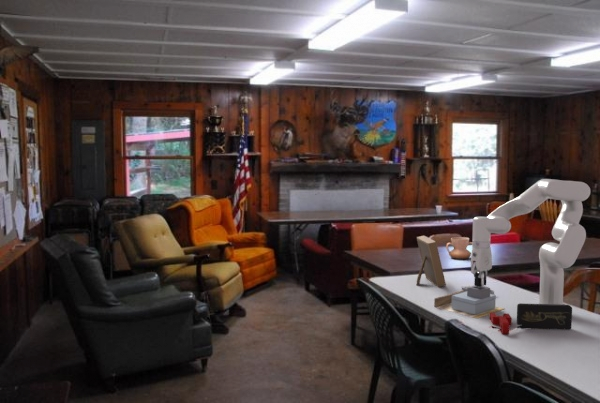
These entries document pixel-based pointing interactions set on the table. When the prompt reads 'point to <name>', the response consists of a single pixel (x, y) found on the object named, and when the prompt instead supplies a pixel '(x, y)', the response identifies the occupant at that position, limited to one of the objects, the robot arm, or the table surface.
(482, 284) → the handle peg
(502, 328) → the red block assembly
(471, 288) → the square socket plate
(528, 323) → the nameplate
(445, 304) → the bay
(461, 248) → the ceramic jug
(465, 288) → the pulley system
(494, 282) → the table surface
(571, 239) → the robot arm
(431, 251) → the photo frame
